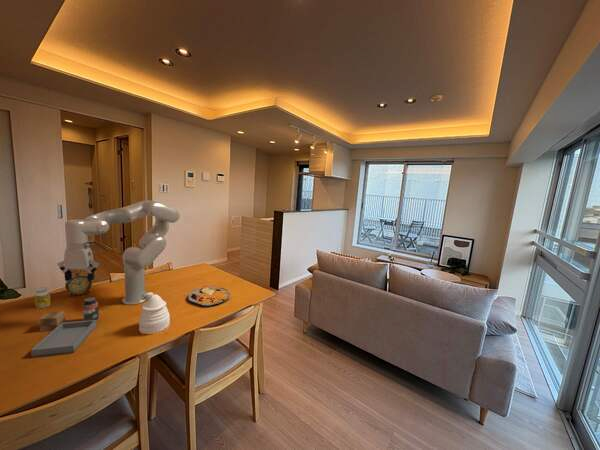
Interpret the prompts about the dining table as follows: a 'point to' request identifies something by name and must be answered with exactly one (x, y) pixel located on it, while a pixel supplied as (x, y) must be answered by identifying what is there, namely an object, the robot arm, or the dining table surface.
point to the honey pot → (154, 315)
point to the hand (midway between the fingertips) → (79, 280)
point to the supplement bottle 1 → (42, 297)
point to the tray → (64, 338)
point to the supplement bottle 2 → (90, 309)
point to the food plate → (205, 290)
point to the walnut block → (51, 320)
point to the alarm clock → (78, 284)
